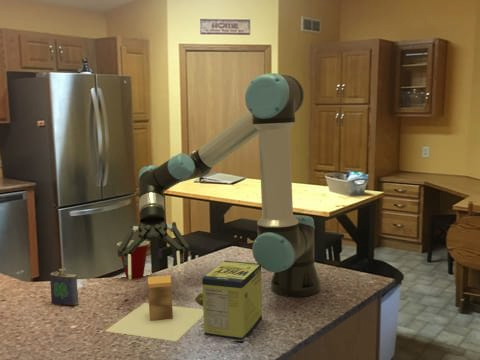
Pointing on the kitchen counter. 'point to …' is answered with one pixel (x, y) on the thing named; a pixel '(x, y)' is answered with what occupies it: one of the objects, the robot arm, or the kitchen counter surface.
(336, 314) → the kitchen counter surface
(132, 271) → the plastic cup
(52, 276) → the flask
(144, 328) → the cream board
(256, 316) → the protein box
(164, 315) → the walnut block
